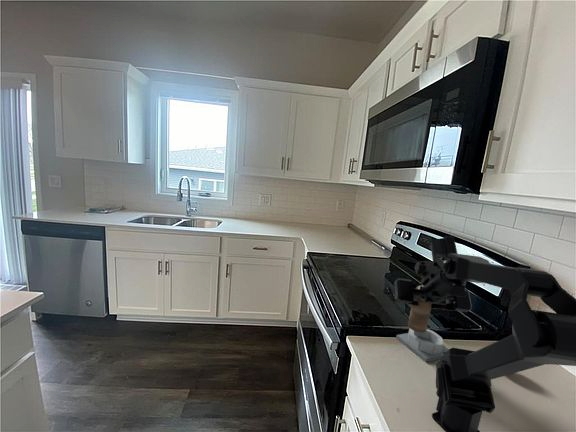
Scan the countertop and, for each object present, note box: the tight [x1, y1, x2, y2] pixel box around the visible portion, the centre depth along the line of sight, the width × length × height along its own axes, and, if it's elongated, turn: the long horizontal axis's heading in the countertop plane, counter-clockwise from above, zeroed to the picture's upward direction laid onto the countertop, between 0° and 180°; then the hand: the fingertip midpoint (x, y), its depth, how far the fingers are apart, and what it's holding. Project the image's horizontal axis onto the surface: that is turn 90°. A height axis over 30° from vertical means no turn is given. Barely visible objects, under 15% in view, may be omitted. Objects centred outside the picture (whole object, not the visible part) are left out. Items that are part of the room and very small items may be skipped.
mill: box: [407, 285, 432, 333], centre depth 80 cm, size 5×5×13 cm
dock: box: [395, 327, 450, 363], centre depth 82 cm, size 11×11×4 cm
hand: (419, 304), depth 81 cm, fingers closed on mill, 5 cm apart
